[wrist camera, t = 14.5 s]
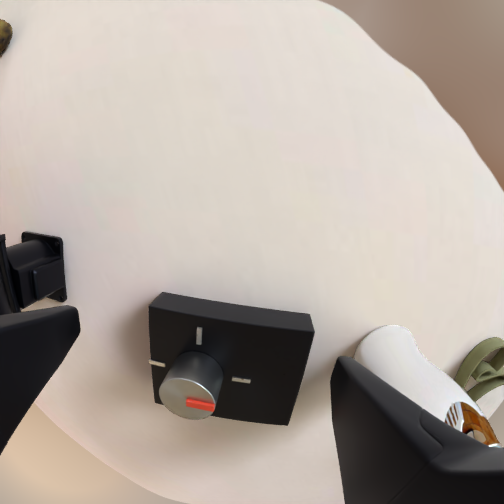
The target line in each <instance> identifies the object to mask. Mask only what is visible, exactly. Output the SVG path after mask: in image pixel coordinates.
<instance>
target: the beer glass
mask: <svg viewBox="0 0 504 504" xmlns="http://www.w3.org/2000/svg"><path fill="white" fill-rule="evenodd" d="M354 360H356V361H357V362H359V363H360V364H361V365H363V366H364V367H366V368H367V369H368V370H370V371H371V372H372V373H374V374H375V375H377V376H378V377H379V378H381V379H382V380H384V381H385V382H386V383H388V384H389V385H391V386H392V387H393V388H395V389H396V390H398V391H399V392H401V393H402V394H403V395H405V396H406V397H408V398H409V399H411V400H412V401H413V402H415V403H416V404H418V405H419V406H421V407H422V409H425V410H426V411H428V412H429V413H431V414H432V415H434V416H435V417H437V418H438V419H440V420H442V421H443V422H445V423H446V424H448V425H450V426H452V427H453V428H455V429H457V430H459V431H461V432H463V433H464V434H466V435H468V436H470V437H472V438H474V439H476V440H478V441H480V442H481V443H483V444H486V445H488V446H491V447H497V448H502V445H501V444H500V442H499V441H498V439H497V437H496V435H495V433H494V431H493V429H492V428H491V426H490V424H489V422H488V420H487V419H486V417H485V415H484V414H483V412H482V411H481V409H480V408H479V406H478V405H477V403H476V402H475V401H474V400H473V398H472V397H471V396H470V395H469V394H468V392H467V391H466V390H465V389H464V388H463V387H462V386H461V385H459V384H458V383H457V382H456V381H455V380H454V379H453V378H451V377H450V376H449V375H447V374H446V373H445V372H444V371H442V370H441V369H440V368H438V367H437V366H435V365H434V364H433V363H432V362H430V361H429V360H428V359H427V358H426V357H425V356H424V355H423V354H422V353H421V351H420V350H419V348H418V346H417V344H416V341H415V339H414V337H413V335H412V333H411V332H410V331H409V330H408V329H407V328H405V327H403V326H400V325H386V326H383V327H380V328H378V329H376V330H374V331H373V332H371V333H370V334H368V335H367V336H366V337H365V338H364V339H363V340H362V342H361V343H360V344H359V346H358V348H357V350H356V352H355V355H354Z"/></svg>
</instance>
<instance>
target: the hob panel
mask: <svg viewBox="0 0 504 504" xmlns="http://www.w3.org/2000/svg"><path fill="white" fill-rule="evenodd" d="M314 333H315V331H314V328H313V324H312V320H311V317H310V314H305V313H296V312H288V311H280V310H272V309H265V308H257V307H250V306H243V305H236V304H230V303H223V302H217V301H211V300H205V299H199V298H193V297H187V296H182V295H176V294H171V293H165V292H162V293H161V294H160V295H159V296H158V297H157V298H156V299H155V300H154V301H153V302H152V303H151V304H150V305H149V336H150V354H151V359H149V363H150V364H151V368H152V379H153V390H154V399H155V403H158V404H162V405H164V404H163V403H162V401H161V399H160V396H159V389H160V386H161V384H162V383H163V381H164V379H165V377H166V375H167V373H168V372H169V370H170V368H171V366H172V364H173V363H174V361H175V359H176V358H177V357H178V356H179V355H181V354H183V353H185V352H191V351H193V352H200V353H204V354H206V355H208V356H210V357H212V358H213V359H214V360H215V361H217V363H218V364H219V365H220V367H221V369H222V371H223V381H222V384H221V388H220V392H219V396H218V399H217V403H216V407H215V410H214V412H213V413H212V414H211V415H210V416H215V417H221V418H227V419H233V420H240V421H247V422H255V423H264V424H274V425H286V426H288V424H289V421H290V418H291V415H292V411H293V408H294V405H295V402H296V399H297V395H298V392H299V388H300V385H301V382H302V378H303V375H304V371H305V367H306V364H307V360H308V356H309V353H310V349H311V345H312V341H313V337H314Z"/></svg>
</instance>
